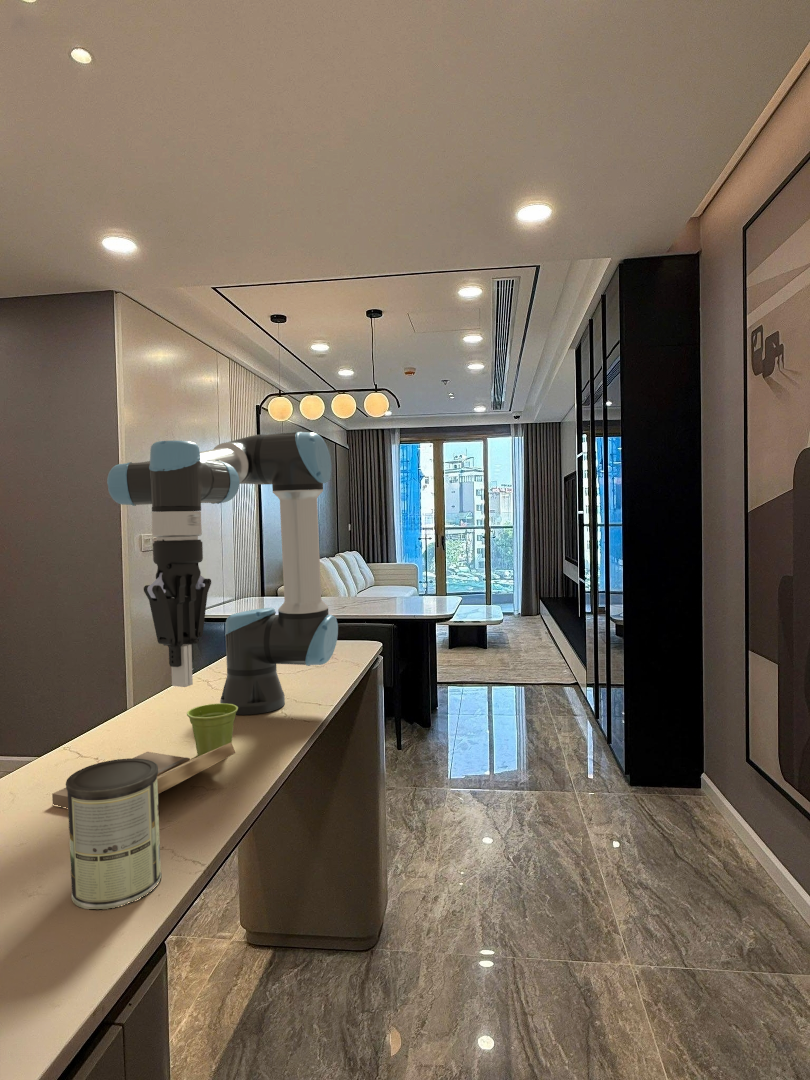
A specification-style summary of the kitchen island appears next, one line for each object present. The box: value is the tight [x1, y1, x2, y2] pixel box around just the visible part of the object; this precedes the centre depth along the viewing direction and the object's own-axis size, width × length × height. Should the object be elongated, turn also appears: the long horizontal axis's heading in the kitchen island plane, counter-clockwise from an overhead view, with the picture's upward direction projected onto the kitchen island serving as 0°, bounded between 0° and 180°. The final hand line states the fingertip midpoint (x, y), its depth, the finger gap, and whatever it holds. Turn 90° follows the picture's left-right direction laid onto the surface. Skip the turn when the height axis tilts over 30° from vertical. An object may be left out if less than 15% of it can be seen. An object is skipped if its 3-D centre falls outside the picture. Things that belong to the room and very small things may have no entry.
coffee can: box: [65, 757, 162, 910], centre depth 81 cm, size 10×10×14 cm
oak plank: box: [157, 741, 237, 795], centre depth 107 cm, size 20×10×2 cm, turn 157°
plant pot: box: [186, 702, 238, 757], centre depth 126 cm, size 9×9×9 cm
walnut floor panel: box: [51, 751, 191, 808], centre depth 112 cm, size 20×10×2 cm, turn 157°
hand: (182, 685), depth 106 cm, fingers closed
